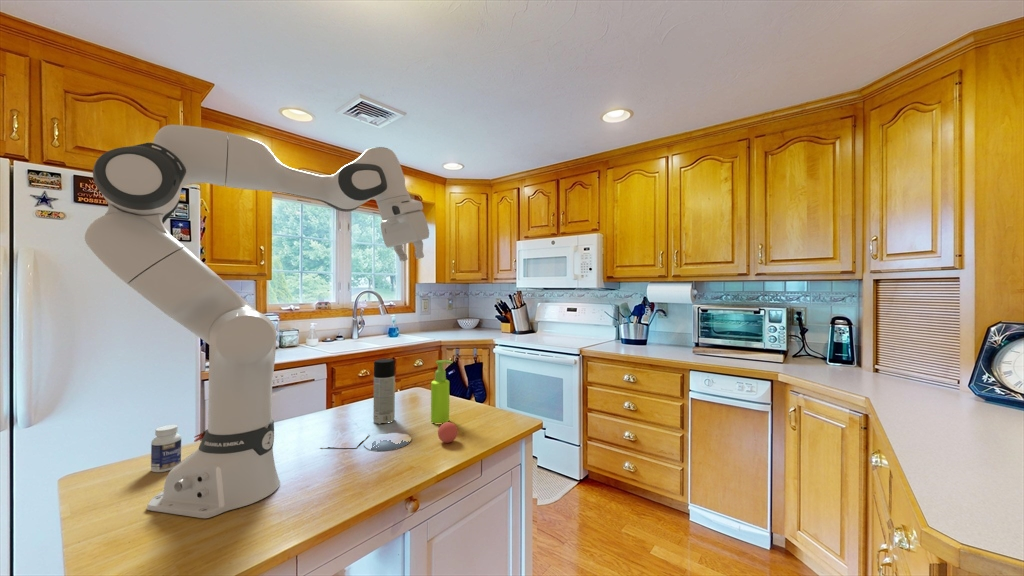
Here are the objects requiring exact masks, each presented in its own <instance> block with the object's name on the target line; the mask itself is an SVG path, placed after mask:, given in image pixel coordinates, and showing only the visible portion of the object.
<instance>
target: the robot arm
mask: <svg viewBox="0 0 1024 576" xmlns="http://www.w3.org/2000/svg"><path fill="white" fill-rule="evenodd" d="M93 165H94V166H93V169H92V178H93V181H94V184H95V186H96V188H97V190H98V191H99V192H100V193H101V195H102V197H103V198H104V199H105V201H106V202H107V205H108V206H107V211H106V212H105V213H104V215H101V216H100V217H98V218H96V219H95V220H94V221H93V222H92V223H90V225H89V226H88V227H87V229H86V230H85V234H84V241H85V243H86V245H87V247H88V248H89V249H90V250H91V251H92V253H93V254H94V255H95V256H96V257H97V258H98V259H99V260H100V261H101V262H102V263H103V264H104V265H105V266H106V267H107V268H108V269H109V270H110V271H111V272H112V273H113V274H114V275H116V277H117V278H119V279H120V280H122V281H123V282H124V283H125V284H126V285H128V286H129V287H131V289H133V290H134V291H136V292H137V293H138V294H140V295H141V296H142V297H143V298H144V299H146V300H147V301H149V302H150V304H152V305H153V306H155V307H156V308H158V309H159V310H160V311H161V312H162V313H164V314H166V315H167V316H168V317H169V318H172V319H173V320H174V321H175V322H177V323H178V324H179V325H180V326H182V327H184V328H186V329H187V330H188V331H190V332H191V333H192V334H194V335H195V336H197V337H198V338H200V339H201V340H202V341H203V342H205V343H206V344H208V345H209V346H208V348H209V353H208V355H209V356H208V358H209V359H208V362H209V363H208V392H207V393H208V394H207V395H208V397H207V400H208V403H207V407H208V408H207V409H208V410H207V411H208V412H207V413H208V414H207V429H205V430H204V431H202V432H201V433H199V434H197V435H195V436H193V438H196V439H194V441H193V442H194V443H195V442H198V441H200V440H201V441H200V444H199V446H198V449H196V450H194V451H193V452H192V453H190V455H188V456H187V457H186V458H184V459H183V460H181V462H180V463H179V464H178V465H176V466H175V467H174V468H173V469H172V470H169V471H168V474H167V475H166V478H165V481H164V485H163V486H164V487H163V490H162V491H160V492H159V493H158V494H156V495H155V496H154V497H152V498H151V499H150V500H149V502H148V503H147V507H146V509H147V510H148V511H152V512H159V513H165V514H172V515H179V516H184V517H185V516H186V517H192V518H198V519H209V518H212V517H216V516H218V515H220V514H222V513H225V512H228V511H231V510H235V509H238V508H243V507H245V506H248V505H252V504H254V503H256V502H258V501H261V500H263V499H265V498H267V497H269V496H270V495H271V494H273V493H274V492H276V491H277V489H278V488H279V487H280V485H281V481H280V479H279V476H278V472H277V469H276V468H277V467H276V464H275V457H274V450H273V449H274V441H275V440H274V439H275V422H274V419H273V415H272V414H273V413H272V412H273V408H272V407H273V379H274V372H275V371H274V370H275V362H276V349H277V348H276V347H277V330H276V326H275V324H274V322H273V321H272V320H271V319H270V318H269V317H268V316H267V315H265V314H263V313H262V312H259V311H258V310H257V309H255V308H254V307H253V306H252V305H250V304H249V303H248V302H247V301H246V300H245V299H244V298H243V297H242V296H240V294H239V293H237V291H235V290H234V289H233V288H232V287H231V286H230V285H228V283H227V282H226V281H224V280H223V279H222V278H221V277H220V275H218V274H217V273H216V272H215V271H213V270H212V269H211V268H210V267H209V266H208V265H207V264H205V262H203V261H202V259H199V257H198V256H196V254H194V253H193V252H192V251H191V250H190V249H188V248H187V247H186V246H185V245H184V244H183V243H181V242H180V241H179V240H178V239H177V238H175V237H174V235H173V234H171V232H170V231H169V230H167V228H166V226H165V225H164V223H165V222H166V221H167V220H168V219H169V218H170V216H171V215H172V214H173V213H174V212H175V211H176V210H177V207H178V206H179V204H180V197H181V191H182V188H184V187H185V186H186V187H187V186H188V185H192V184H210V185H215V186H220V187H226V188H232V189H233V188H234V189H240V190H241V189H242V190H250V191H261V192H262V191H263V192H264V191H265V192H275V193H276V192H277V193H282V194H287V195H291V196H294V197H295V196H297V197H300V198H301V197H302V198H306V199H311V200H314V201H315V200H316V201H319V202H322V203H324V204H325V205H328V206H329V207H331V208H333V209H335V210H337V211H339V212H345V213H346V212H353V211H356V210H357V209H359V207H361V206H362V205H364V204H365V203H367V202H368V201H370V200H375V202H376V204H377V207H378V211H379V214H380V218H381V222H380V232H381V235H382V239H383V243H384V245H385V247H387V249H388V248H393V250H394V252H395V253H396V255H397V256H398V259H399V261H400V262H405V261H407V260H408V256H407V254H406V252H405V251H404V248H403V245H405V244H410V243H412V244H413V245H412V246H413V247H414V250H415V252H414V256H415V259H417V260H419V259H420V260H421V259H423V258H424V257H425V254H424V242H423V241H424V240H427V239H429V238H430V237H429V236H430V229H429V226H428V221H427V218H426V216H425V213H424V212H423V210H424V206H423V203H422V201H420V200H417V199H413V198H411V196H410V193H409V191H408V189H407V186H406V179H405V176H404V172H403V169H402V167H401V166H402V165H401V164H400V162H399V159H398V157H397V155H396V153H395V151H393V150H392V149H390V148H387V147H385V146H384V147H383V146H375V147H370V148H367V149H365V150H364V152H363V153H362V154H361V155H360V156H358V157H357V158H356V159H355V160H353V161H351V162H349V163H348V164H345V165H344V166H342V167H341V168H340V169H339V170H337V172H336V173H334V174H331V175H319V174H315V173H311V172H308V171H303V170H299V169H296V168H292V167H289V166H287V165H286V164H283V163H282V162H281V161H280V160H279V159H278V158H277V157H276V155H274V153H273V152H272V150H271V149H270V148H269V147H268V146H267V145H266V144H264V143H262V142H260V141H258V140H254V139H253V138H250V137H247V136H243V135H240V134H236V133H232V132H227V131H223V130H219V129H213V128H209V127H201V126H193V125H184V124H182V125H181V124H167V125H165V126H162V127H161V128H160V129H158V131H157V132H156V134H155V136H154V138H153V142H144V143H140V144H136V145H130V146H129V145H128V146H121V147H117V148H113V149H109V150H108V151H105V152H104V153H102V154H101V155H100V156H99V157H98V158H97V159H96V161H95V163H94V164H93Z"/></svg>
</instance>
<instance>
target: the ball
mask: <svg viewBox="0 0 1024 576" xmlns="http://www.w3.org/2000/svg"><path fill="white" fill-rule="evenodd" d="M437 436H438V438H439V440H440V441H441V442H442V443H447V444H449V443H452V442H454V441H455V439H456V438H457V436H458V427H457V426H456V424H455V423H452V422H450V421H449V422H446V423H443V424H441V425H440V426H439V427H438V430H437Z"/></svg>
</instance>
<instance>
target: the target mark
mask: <svg viewBox="0 0 1024 576" xmlns="http://www.w3.org/2000/svg"><path fill="white" fill-rule="evenodd" d="M412 440H413V438H412V439H411V441H412ZM408 443H409V441H408V442H406V441H404V442H403V440H402V441H401V443H400V444H399V443H398V444H395V443H393V442H391V440H389V441H387V440H383V441H381V440H380V443H378V444H377V445H376V441H374V442H373V443H372V448H371V450H370V451H372V450H377V451H376V452H388V451H387V450H389V451H393V450H392V449H395V450H397V449H396V448H399V449H401V448H400V447H402V448H404V447H406V446H408V445H409V444H410V443H409V444H408ZM407 444H408V445H407ZM374 445H375V446H374ZM405 445H406V446H405ZM373 446H374V447H373ZM378 446H379V447H378ZM403 446H404V447H403ZM376 447H377V448H376Z"/></svg>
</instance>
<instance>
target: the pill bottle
mask: <svg viewBox="0 0 1024 576" xmlns="http://www.w3.org/2000/svg"><path fill="white" fill-rule="evenodd" d="M178 429H179V428H178V425H177V424H168V425H167V424H166V425H163V426H159V427H157V428H156V429H155V434H154V435H155V436H156V437H154V438H153V439H152V441H151V444H150V449H151V450H150V452H151V453H150V454H151V455H150V470H151V472H153V473H163V472H170V471H171V470H172V469H173V468H174V467H175V466H176V465H178V464H179V463H180V462H182V435H181V434H180V433H178Z"/></svg>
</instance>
